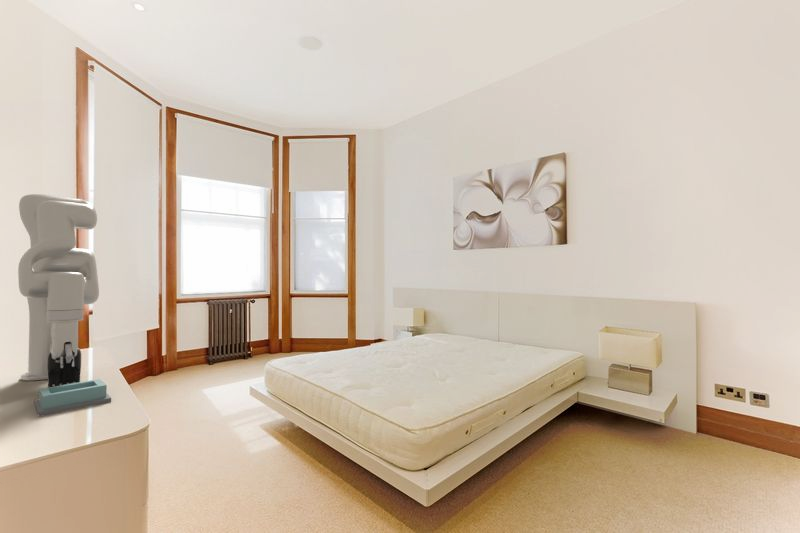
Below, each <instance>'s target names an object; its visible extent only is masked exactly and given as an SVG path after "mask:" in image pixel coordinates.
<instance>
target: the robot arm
mask: <svg viewBox="0 0 800 533" xmlns="http://www.w3.org/2000/svg"><path fill="white" fill-rule="evenodd" d="M18 210H19V215H20V216H19V217H20V219H21V221H22V224H23V226H24V228H25V230H26V232H27V234H28V236H29V238H30V239H29V240H30V247H29V249H27V251H26V252H24V254H23V255H22V257H21V258H20V260H19V263H18V270H17V272H18V273H17V275H18V288H19V292H20V294H21V295H22V296H23V297H25V298H26V299H27V304H28V314H29V316H28V317H29V318H28V320H29V324H28V325H29V326H28V330H29V332H28V335H29V336H28V362H27V363H28V366H27V367H28V368H27V369H28V370H27V372H24V373H23V374H21V375H20V380H21V381H29V382H30V381H42V380H43V381H45V380H48V370H47V365H48V355H49V353H51V356H52V359H54V360H56V358H58V357H60V368H59V378H58V383H60V384H61V383H67V382H73V381H74V380H75V366H74V357H75V356H77V348H79V347H78V346H79V344H78V343H79V322H83V321H84V312H85V310H84V309H85V308H84V307H85V306H84V305H91V304H94V303H95V302H97V300H98V298H99V295H100V286H99V277H98V269H97V260H96V257H95V254H94V253H93V251H91V250H89V249H86V248H79V247H76V245H77V238H76V233H75V232H76V231H75V230H77V229H79V230H93V229H94V228H95V227H96V225H97V223H98V214H97V211H96V209H95V207H94V206H93V205H92V204H91V203H90V202H89V201H87V200H85V199H82V198H81V199H80V198H74V197H67V196H59V195H52V194H51V195H50V194H42V193H41V194H39V193H33V194H25V195H23V196H22V197H21V198H20V200H19V201H18ZM64 348H65V349H64ZM73 352H75V354H74V353H73Z"/></svg>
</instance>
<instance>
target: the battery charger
mask: <svg viewBox="0 0 800 533" xmlns="http://www.w3.org/2000/svg"><path fill="white" fill-rule="evenodd" d="M64 349H65V348H64ZM73 353H74V354H75V352H73ZM74 366H75V380H74V381H73V382H67V383H61V384H60V383H58V378H59V368H60V357H58V358H56V360H54V359H52V356H51V353H49V355H48V365H47V370H48V379H47V387H54V386H60V385H66V384H72V383H78V382H81V372H82V371H81V370H82V351H81V349H80V348H79V347H78V348H77V356H75V357H74Z"/></svg>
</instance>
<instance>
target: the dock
mask: <svg viewBox="0 0 800 533" xmlns="http://www.w3.org/2000/svg"><path fill="white" fill-rule="evenodd" d="M107 387H108V386H107V384H106V383H105V382H104V381H103V380H102V379H100V378H97V379H91V380H86V381H80V382H78V383H72V384H66V385H60V386H54V387H48V386H47V387H43V388H42V387H41V388H39V389H38V399H36V400H33V404H34V409H35V411H36V413H37V416H38V417H39V418H40V417H44V416H49V415H54V414H58V413H63V412H68V411H73V410H77V409H82V408H88V407H93V406H97V405H102V404H107V403H111V402H112V397H111V396H110V395H109V394H108V393H107V389H108V388H107Z"/></svg>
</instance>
